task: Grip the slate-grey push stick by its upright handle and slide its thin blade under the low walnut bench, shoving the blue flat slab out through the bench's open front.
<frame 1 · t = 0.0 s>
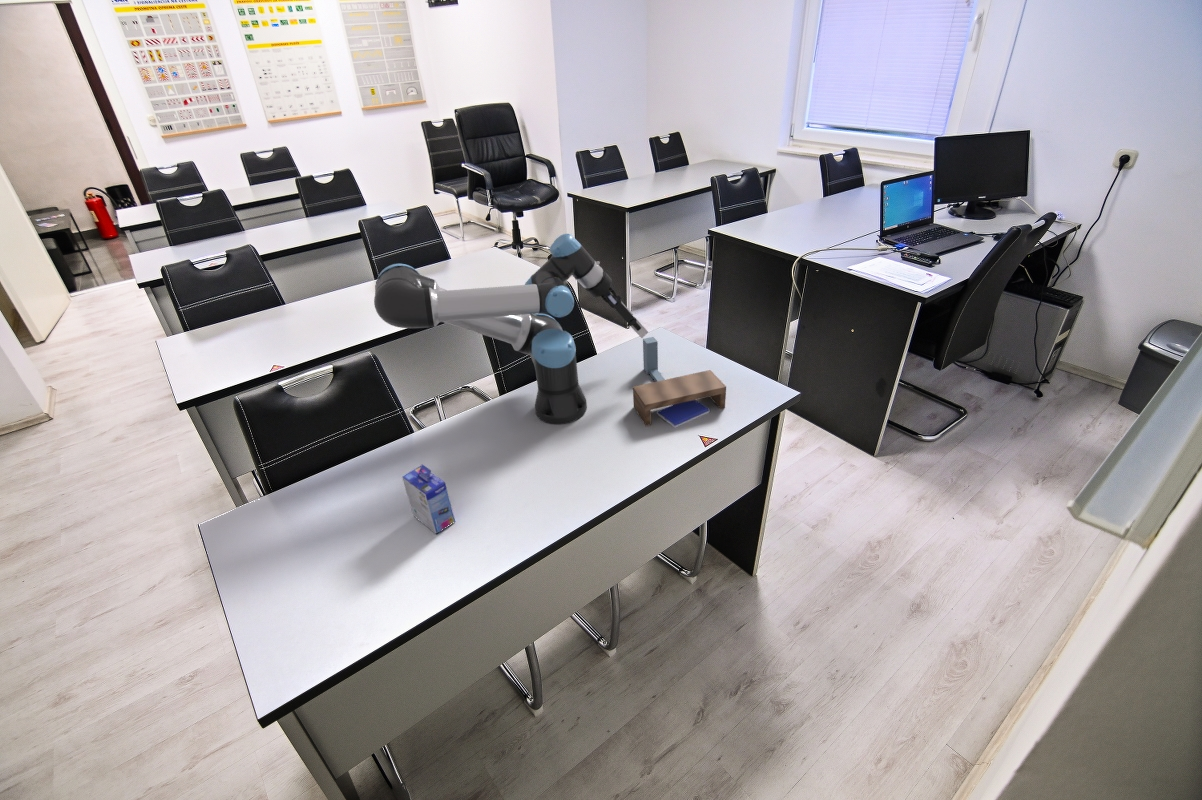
hand: (637, 325, 174), 15 cm above the table, tool tilted 35°, fingers open, 13 cm apart
ink cartridge box: (435, 519, 131), on the table
push stick: (650, 370, 180), on the table
bench: (678, 407, 162), on the table
blue flat slab: (683, 415, 160), on the table
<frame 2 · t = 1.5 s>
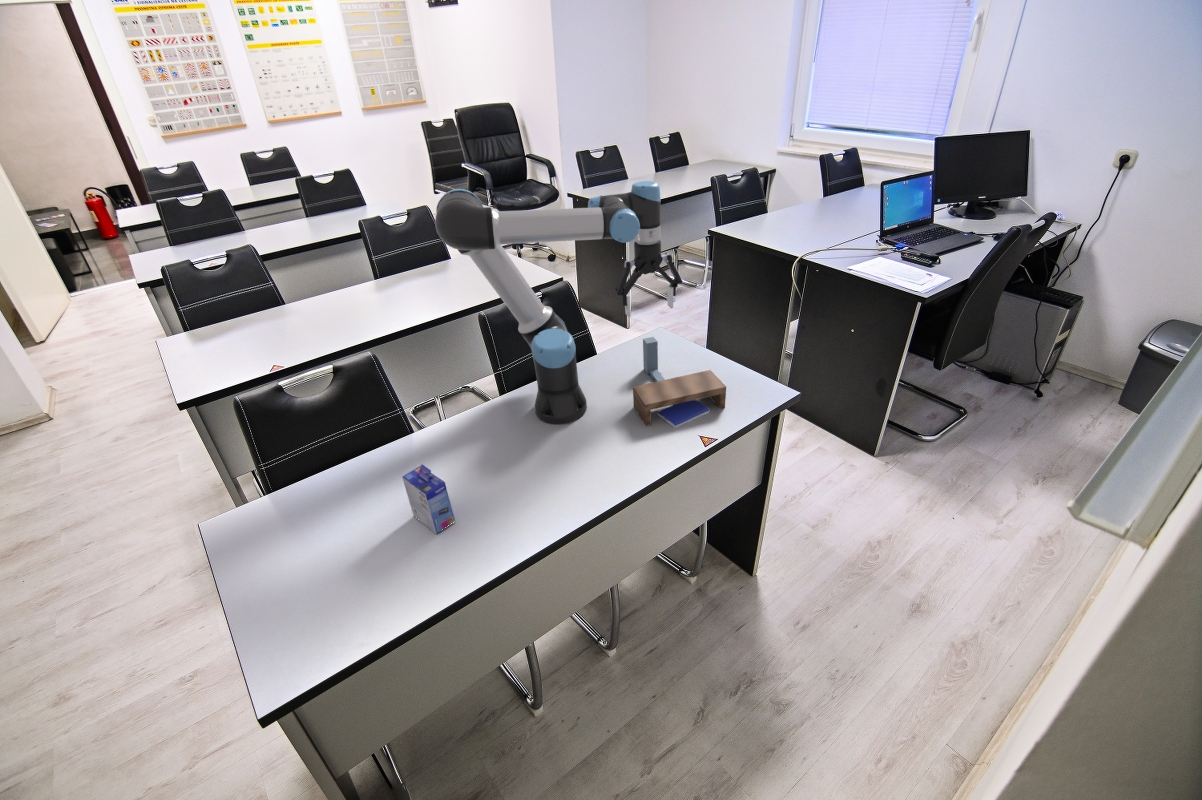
hand: (649, 310, 169), 21 cm above the table, tool pointing down, fingers open, 13 cm apart
nothing on the table moved.
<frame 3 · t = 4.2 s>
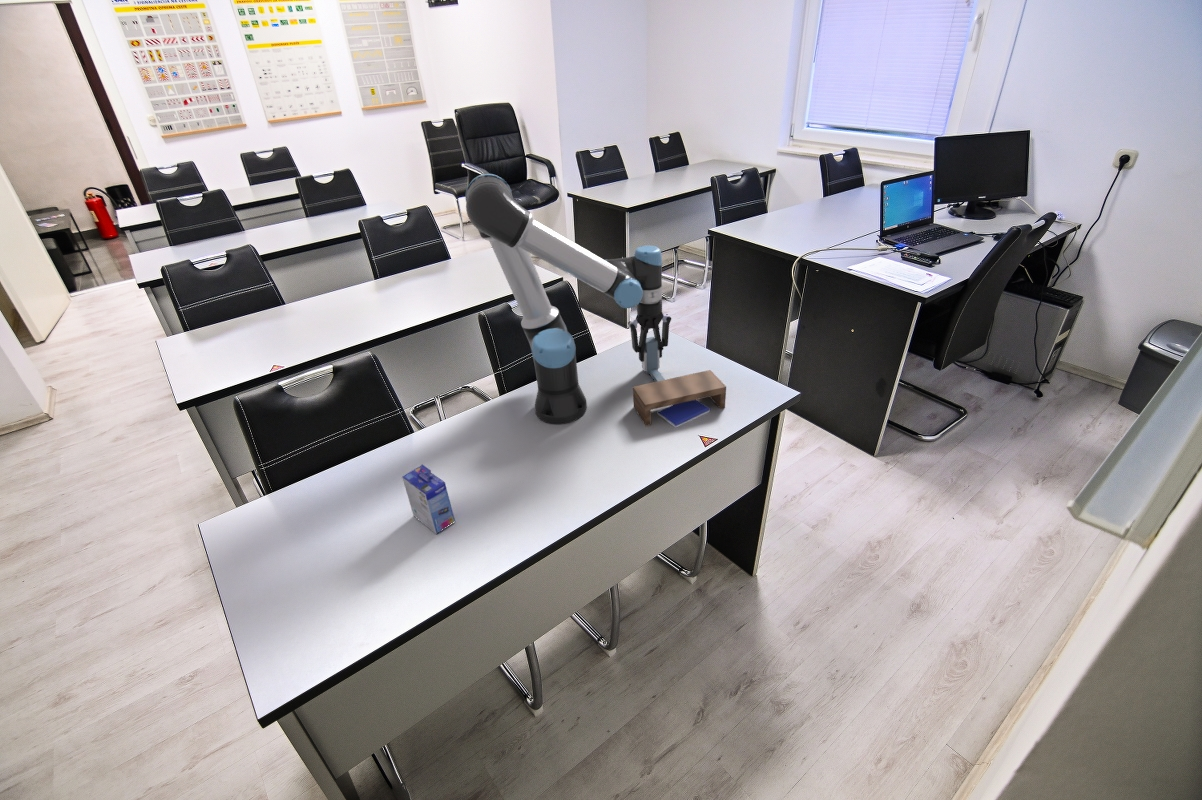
hand: (650, 367, 180), 1 cm above the table, tool pointing down, fingers closed on push stick, 3 cm apart
push stick: (650, 370, 180), on the table, touching gripper
everything else where it was.
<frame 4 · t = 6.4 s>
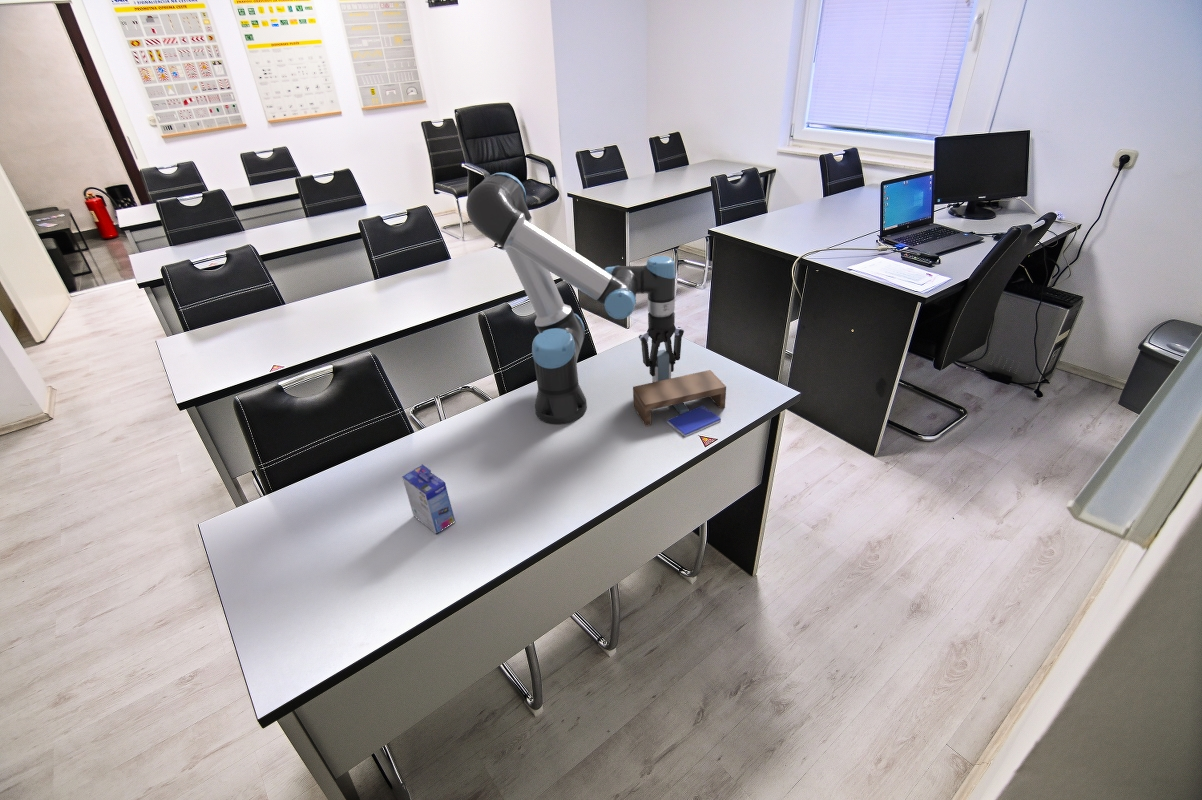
hand: (661, 382, 172), 1 cm above the table, tool pointing down, fingers closed on push stick, 3 cm apart
push stick: (661, 384, 173), on the table, touching gripper
blue flat slab: (693, 423, 156), on the table
everything else where it was.
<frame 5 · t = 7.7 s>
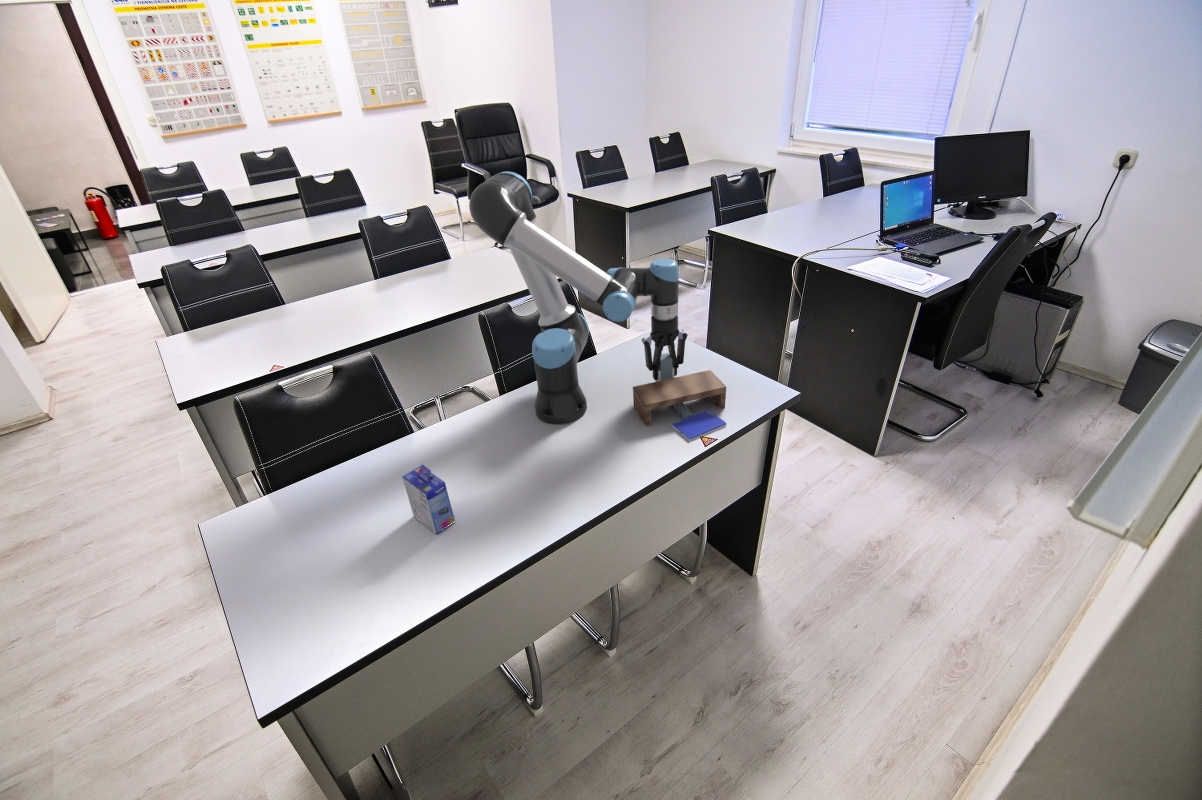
hand: (664, 386, 170), 1 cm above the table, tool pointing down, fingers closed on push stick, 3 cm apart
push stick: (664, 388, 171), on the table, touching gripper
blue flat slab: (698, 428, 155), on the table
everything else where it was.
when the fingers open (1 cm above the table, at t = 8.2 s): push stick stays where it is, on the table.
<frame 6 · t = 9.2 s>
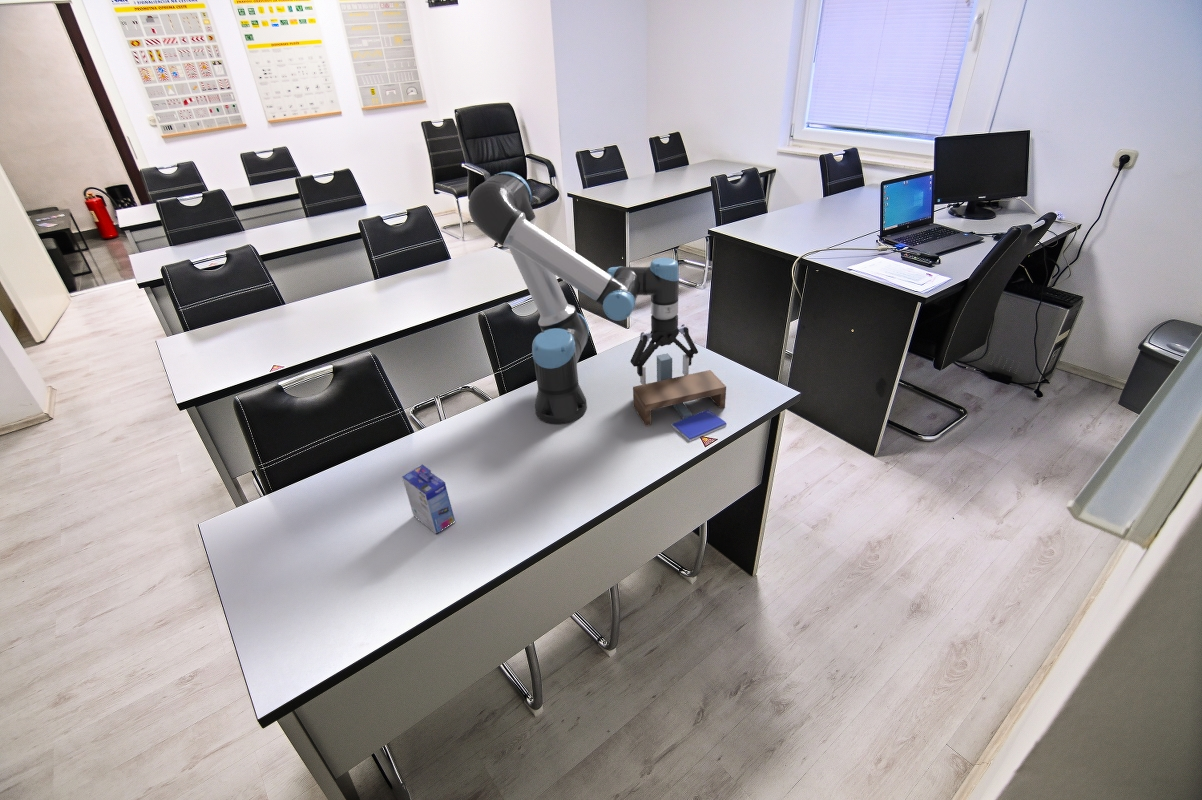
hand: (664, 379, 169), 3 cm above the table, tool pointing down, fingers open, 13 cm apart
push stick: (664, 388, 171), on the table
everything else where it was.
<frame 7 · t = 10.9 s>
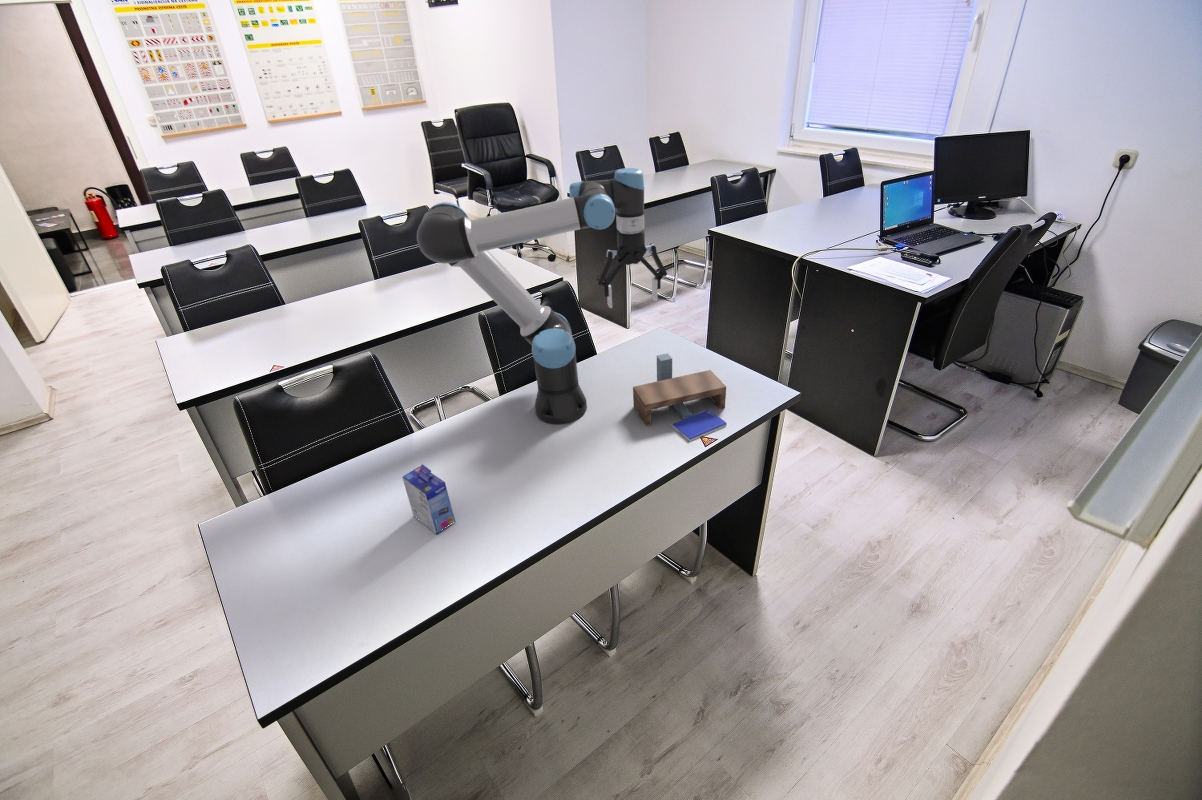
hand: (632, 303, 164), 25 cm above the table, tool pointing down, fingers open, 13 cm apart
nothing on the table moved.
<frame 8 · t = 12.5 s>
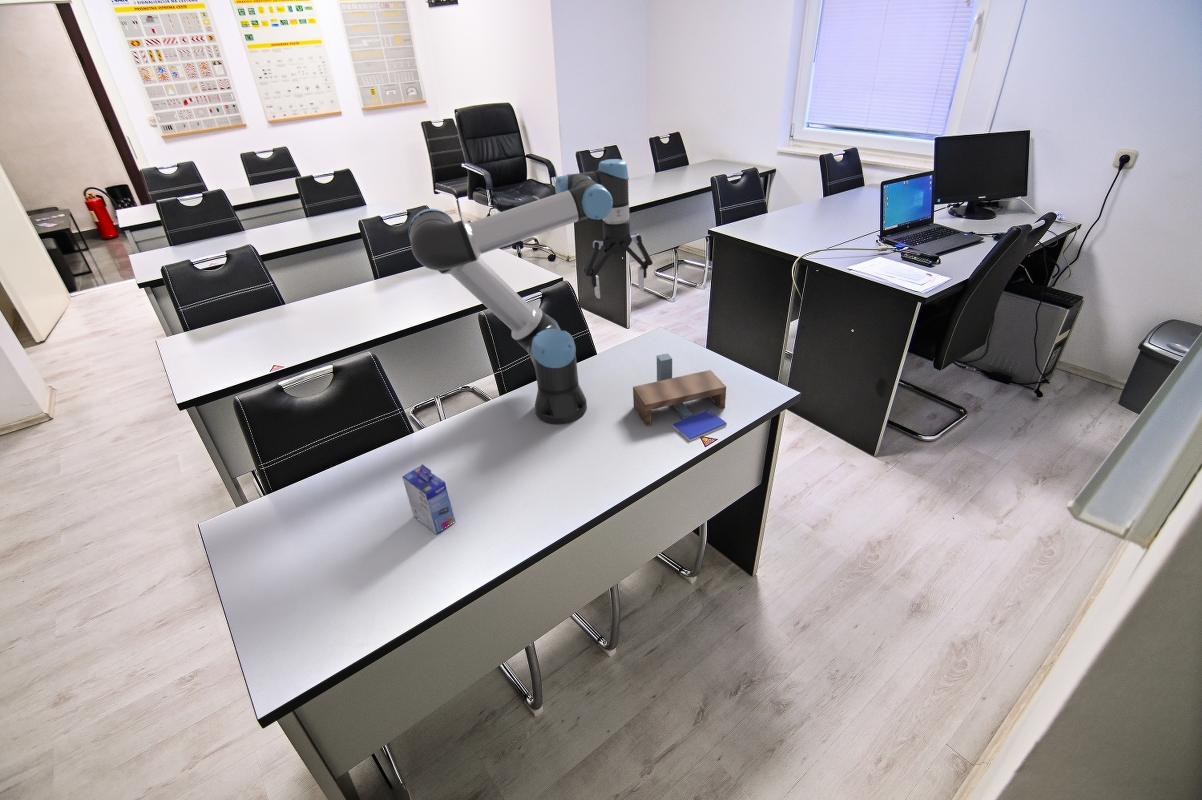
hand: (619, 292, 167), 27 cm above the table, tool pointing down, fingers open, 13 cm apart
nothing on the table moved.
at the end: blue flat slab inside the target area (3.6 cm from its centre), on the table; blue flat slab moved 7.5 cm from its start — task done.
